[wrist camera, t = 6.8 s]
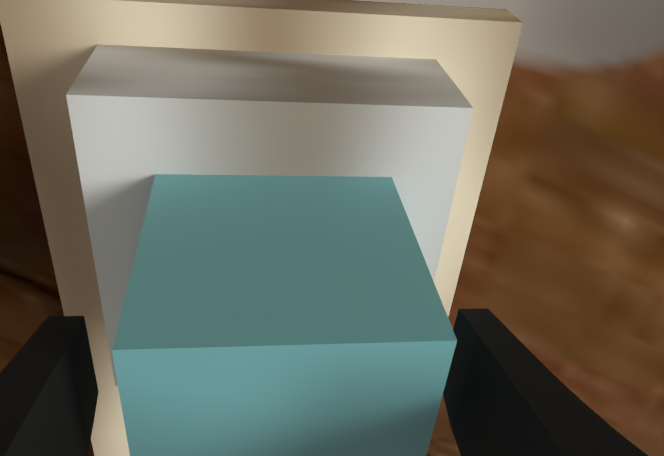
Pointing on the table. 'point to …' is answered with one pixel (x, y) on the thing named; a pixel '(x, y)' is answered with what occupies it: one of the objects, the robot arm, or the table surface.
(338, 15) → the stacking base
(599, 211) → the table surface
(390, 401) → the teal cube
